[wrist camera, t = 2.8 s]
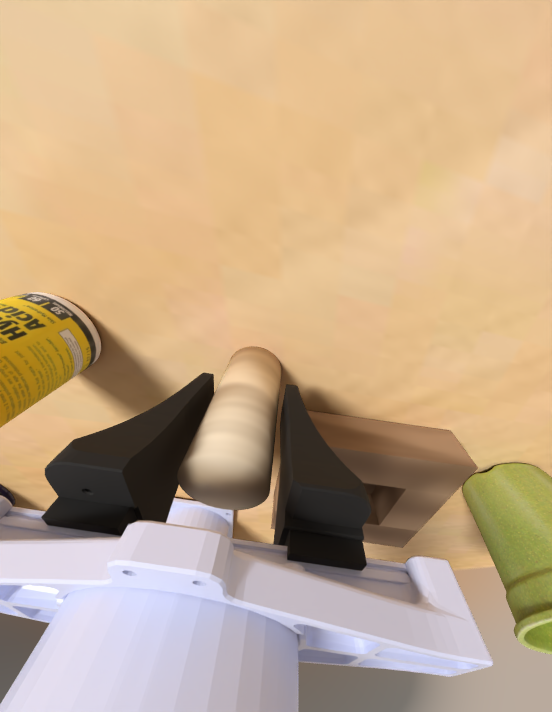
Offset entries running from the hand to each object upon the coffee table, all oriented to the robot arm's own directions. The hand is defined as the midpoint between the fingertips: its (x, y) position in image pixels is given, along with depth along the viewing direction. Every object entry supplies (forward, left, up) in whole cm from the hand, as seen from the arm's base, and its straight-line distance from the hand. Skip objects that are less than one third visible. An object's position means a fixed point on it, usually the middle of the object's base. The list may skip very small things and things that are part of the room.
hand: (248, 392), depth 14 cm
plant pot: (-8, -22, -3) cm, 24 cm away
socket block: (-9, -9, -2) cm, 13 cm away
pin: (0, 0, -2) cm, 2 cm away
